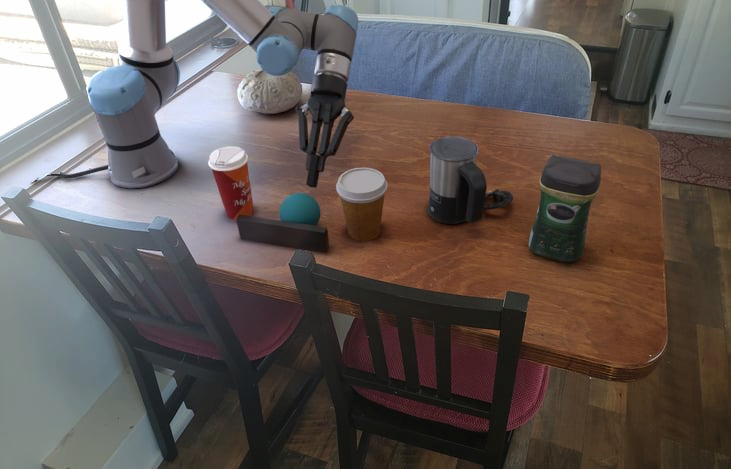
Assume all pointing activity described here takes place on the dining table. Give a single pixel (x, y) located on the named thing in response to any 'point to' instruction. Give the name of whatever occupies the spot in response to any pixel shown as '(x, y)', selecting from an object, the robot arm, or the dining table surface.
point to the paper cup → (232, 180)
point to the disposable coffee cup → (362, 201)
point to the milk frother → (459, 183)
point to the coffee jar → (564, 208)
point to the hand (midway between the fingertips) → (311, 185)
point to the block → (283, 233)
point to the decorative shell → (269, 92)
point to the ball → (300, 209)
